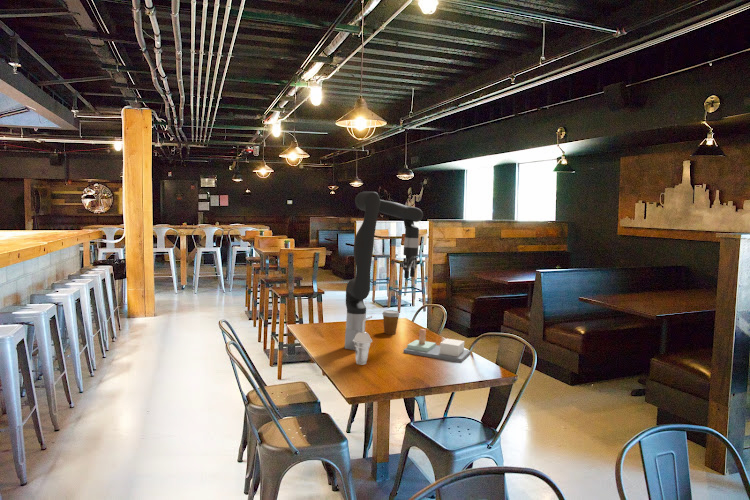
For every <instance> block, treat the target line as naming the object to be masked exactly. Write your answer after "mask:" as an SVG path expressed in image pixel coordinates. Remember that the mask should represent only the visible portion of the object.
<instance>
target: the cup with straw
mask: <svg viewBox="0 0 750 500" xmlns="http://www.w3.org/2000/svg"><path fill="white" fill-rule="evenodd" d="M372 318H373V316H372V315H371V316H369V317H366V319H364V320H363V327H362V331H361V332H358V333H357V334H356V336H355V338H353V342H354V345H355V350H354V353H355V364H356V365H362V366H363V365H367V361H368V358H369V350H370V346H371V343H373V339H372V338H371V336H370V334H369V332H367V331H365V332H364V322H365V323H366V321H368V320H370V319H372ZM365 320H366V321H365Z"/></svg>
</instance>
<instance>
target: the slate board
mask: <svg viewBox="0 0 750 500" xmlns="http://www.w3.org/2000/svg"><path fill="white" fill-rule="evenodd" d="M471 351H472V350H469V349H464V352H462V353H461V354H460V355H459V356H452V355H446V354H440V344H439V345H438V344H436V347H434V348H433V349H431V350H430V351H429V352H425V351H419V350H413V349H407V347H406V348H404V349H403V352H402V353H404V354H409V355H415V356H419V357H420V356H421V357H426V358H427V357H428V358H431V359H437V360H438V359H439V360H445V361H451V362H457V363H462V362H463V361H464V360H465V359H467V358H468V357H469V356H471V353H472V352H471Z"/></svg>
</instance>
